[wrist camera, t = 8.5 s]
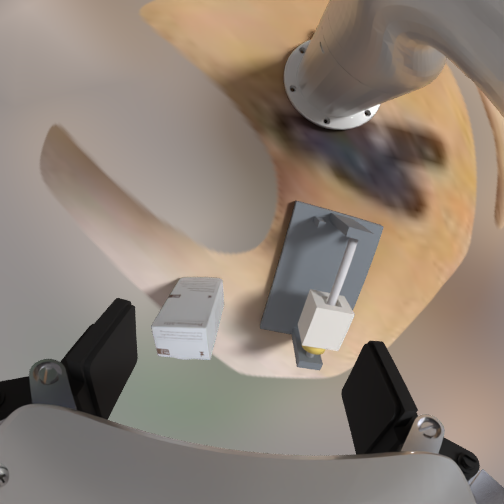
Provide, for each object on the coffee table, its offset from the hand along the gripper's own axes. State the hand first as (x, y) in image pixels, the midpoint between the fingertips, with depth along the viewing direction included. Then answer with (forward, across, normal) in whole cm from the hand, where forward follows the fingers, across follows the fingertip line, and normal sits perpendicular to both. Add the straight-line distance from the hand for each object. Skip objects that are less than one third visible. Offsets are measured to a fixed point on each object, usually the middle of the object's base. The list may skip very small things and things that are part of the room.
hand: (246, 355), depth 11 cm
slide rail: (+26, -10, +7) cm, 29 cm away
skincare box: (+26, +6, +12) cm, 30 cm away
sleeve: (+22, -10, +9) cm, 26 cm away
